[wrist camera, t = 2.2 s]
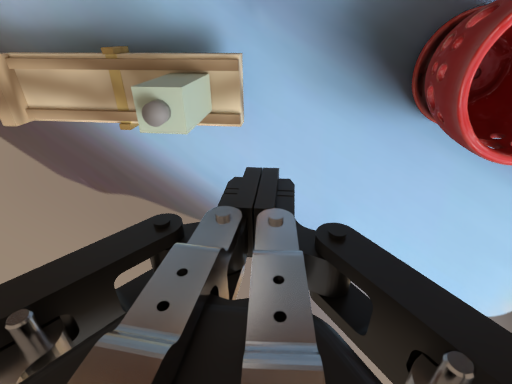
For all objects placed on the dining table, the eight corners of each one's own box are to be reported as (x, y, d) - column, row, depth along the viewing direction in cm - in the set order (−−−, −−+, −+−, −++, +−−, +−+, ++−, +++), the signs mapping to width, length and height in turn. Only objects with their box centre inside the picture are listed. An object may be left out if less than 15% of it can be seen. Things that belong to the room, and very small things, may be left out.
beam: (36, 44, 35) (-31, 48, 28) (247, 44, 32) (234, 48, 25) (59, 112, 39) (5, 131, 32) (248, 117, 36) (237, 139, 29)
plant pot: (473, 143, 35) (550, 192, 24) (379, 98, 33) (417, 128, 23) (574, 29, 28) (737, 29, 18) (462, -33, 27) (566, -73, 17)
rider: (170, 73, 29) (122, 89, 21) (209, 73, 28) (175, 90, 20) (175, 109, 30) (133, 137, 23) (211, 110, 30) (182, 139, 22)
